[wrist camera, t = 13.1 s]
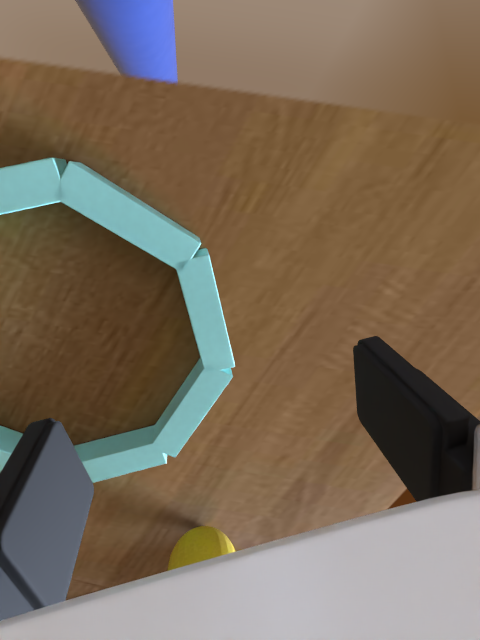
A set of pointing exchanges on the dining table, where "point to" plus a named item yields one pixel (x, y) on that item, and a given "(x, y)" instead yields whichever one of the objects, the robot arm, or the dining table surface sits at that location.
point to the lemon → (199, 547)
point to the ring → (198, 290)
